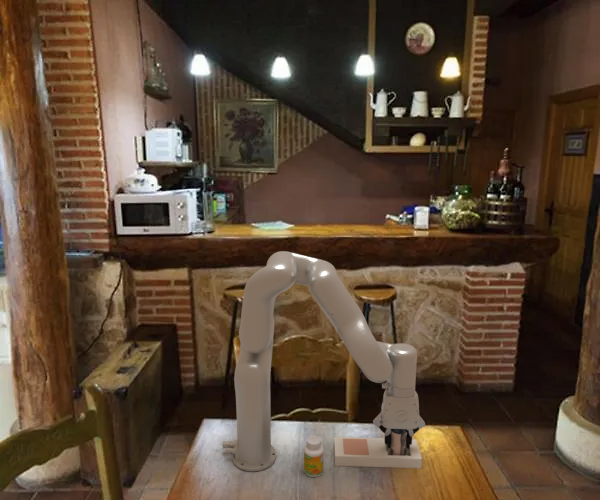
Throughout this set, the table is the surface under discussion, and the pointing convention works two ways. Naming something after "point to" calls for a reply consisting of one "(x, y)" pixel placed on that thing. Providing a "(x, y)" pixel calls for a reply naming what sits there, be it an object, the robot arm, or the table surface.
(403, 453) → the beer can
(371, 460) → the well board
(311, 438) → the supplement bottle
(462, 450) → the table surface
